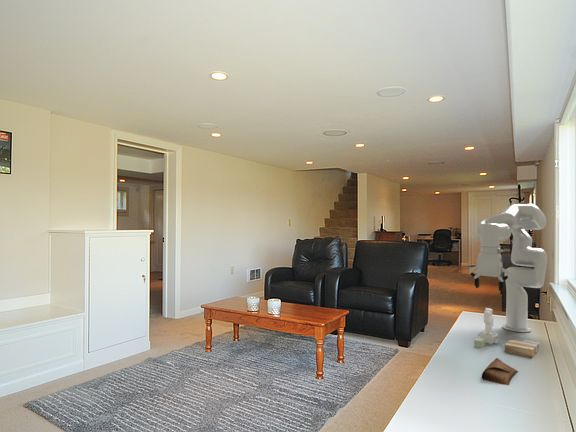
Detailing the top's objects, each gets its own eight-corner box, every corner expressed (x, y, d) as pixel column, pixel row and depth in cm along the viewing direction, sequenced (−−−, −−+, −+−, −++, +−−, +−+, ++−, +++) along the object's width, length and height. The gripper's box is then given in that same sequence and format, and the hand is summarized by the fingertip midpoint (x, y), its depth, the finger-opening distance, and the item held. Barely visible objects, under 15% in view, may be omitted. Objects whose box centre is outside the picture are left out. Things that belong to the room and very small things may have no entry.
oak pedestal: (510, 346, 174) (511, 339, 174) (537, 351, 168) (537, 344, 168) (504, 351, 166) (504, 344, 166) (532, 357, 160) (532, 350, 160)
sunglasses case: (510, 386, 130) (498, 365, 132) (489, 392, 133) (478, 372, 136) (519, 371, 144) (508, 352, 146) (500, 376, 148) (490, 358, 150)
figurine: (499, 341, 181) (499, 308, 182) (494, 346, 174) (495, 311, 174) (482, 338, 186) (482, 305, 186) (477, 342, 178) (477, 308, 179)
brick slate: (522, 348, 173) (522, 341, 173) (523, 346, 175) (523, 339, 175) (538, 351, 169) (538, 344, 169) (539, 349, 171) (539, 342, 171)
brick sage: (478, 344, 177) (478, 337, 177) (485, 345, 175) (485, 338, 175) (474, 347, 172) (474, 340, 173) (481, 348, 171) (482, 341, 171)
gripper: (513, 252, 178) (512, 290, 177) (472, 249, 189) (471, 286, 189) (509, 252, 172) (508, 292, 172) (466, 249, 184) (466, 287, 183)
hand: (488, 289), depth 180 cm, fingers open, 9 cm apart
